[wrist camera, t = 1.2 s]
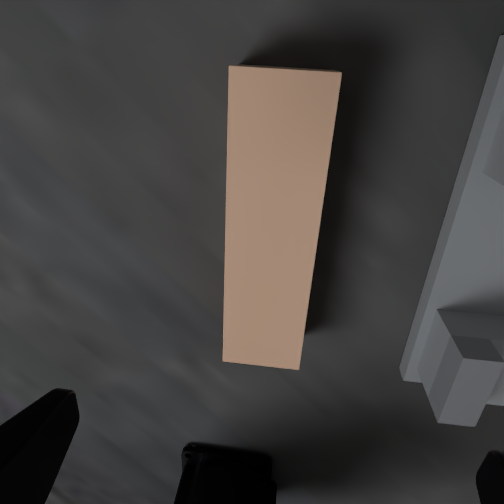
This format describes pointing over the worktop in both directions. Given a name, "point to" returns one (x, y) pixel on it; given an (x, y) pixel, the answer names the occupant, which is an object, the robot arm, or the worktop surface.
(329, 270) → the worktop surface
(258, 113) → the clay bar
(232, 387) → the worktop surface
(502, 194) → the grey cradle stand
